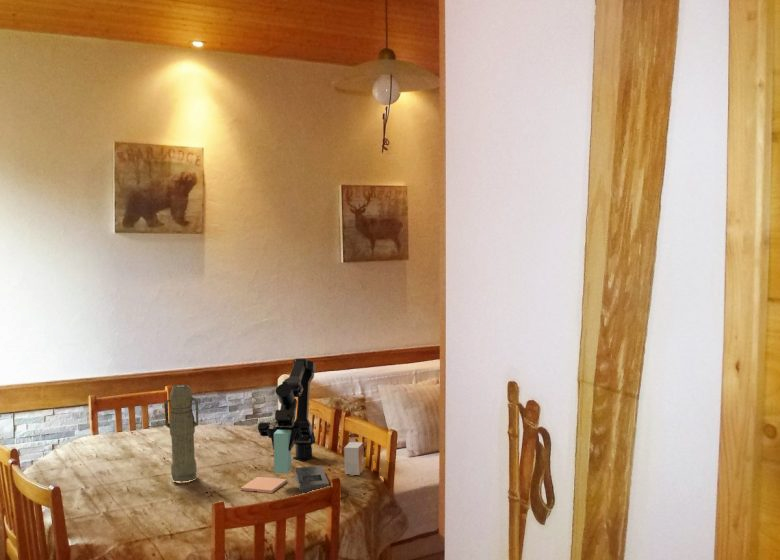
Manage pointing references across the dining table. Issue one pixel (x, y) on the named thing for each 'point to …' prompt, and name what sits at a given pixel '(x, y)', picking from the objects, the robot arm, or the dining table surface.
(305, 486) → the grey slotted board
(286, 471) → the peg
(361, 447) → the small box
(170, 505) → the dining table surface
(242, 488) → the tile
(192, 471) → the thermos
